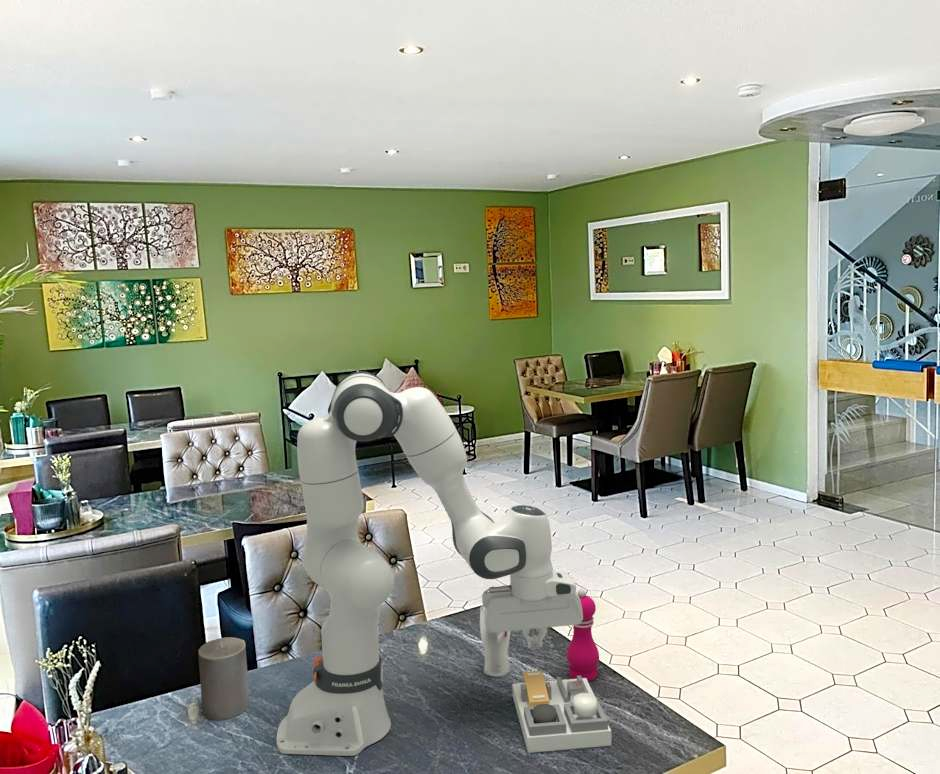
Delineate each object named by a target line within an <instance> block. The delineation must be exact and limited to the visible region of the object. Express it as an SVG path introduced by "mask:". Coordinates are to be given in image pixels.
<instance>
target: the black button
mask: <svg viewBox="0 0 940 774" xmlns="http://www.w3.org/2000/svg"><path fill="white" fill-rule="evenodd" d="M533 722H534V724H538V723H549V722H556V709H555V707H553V706H552V705H549V704H539V705H537V706H535V707H534V708H533Z"/></svg>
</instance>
